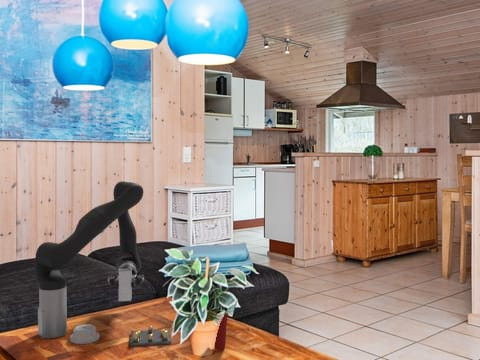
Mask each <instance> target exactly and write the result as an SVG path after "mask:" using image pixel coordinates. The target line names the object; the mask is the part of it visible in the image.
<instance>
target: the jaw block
mask: <svg viewBox="0 0 480 360" xmlns="http://www.w3.org/2000/svg"><path fill="white" fill-rule="evenodd" d="M131 280H132V268H124V269H119V288H118V302H131V301H132V296H133V295H132V293H133V292H132V291H133V290H132V288H133V287H132V288H131Z"/></svg>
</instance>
